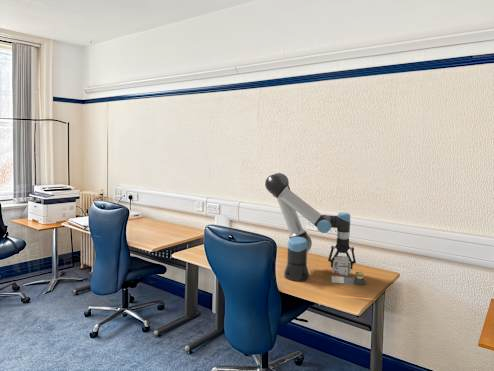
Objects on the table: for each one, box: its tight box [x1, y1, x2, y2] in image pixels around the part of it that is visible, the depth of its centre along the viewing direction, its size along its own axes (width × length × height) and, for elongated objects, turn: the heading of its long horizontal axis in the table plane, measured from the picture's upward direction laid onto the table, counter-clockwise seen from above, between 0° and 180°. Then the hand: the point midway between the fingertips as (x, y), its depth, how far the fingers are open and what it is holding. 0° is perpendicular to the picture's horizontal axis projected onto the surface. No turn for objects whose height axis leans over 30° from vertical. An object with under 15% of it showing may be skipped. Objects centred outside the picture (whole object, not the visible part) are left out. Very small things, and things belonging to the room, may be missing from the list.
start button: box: [355, 271, 365, 280], centre depth 219 cm, size 4×4×6 cm
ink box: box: [333, 254, 350, 276], centre depth 235 cm, size 9×5×12 cm, turn 62°
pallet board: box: [330, 275, 366, 286], centre depth 223 cm, size 19×11×1 cm, turn 79°
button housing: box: [353, 275, 366, 286], centre depth 219 cm, size 6×6×3 cm
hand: (341, 273), depth 235 cm, fingers closed on ink box, 9 cm apart
